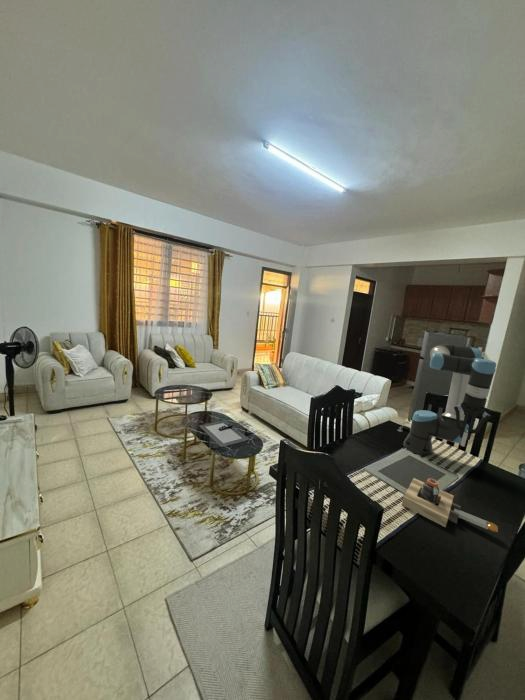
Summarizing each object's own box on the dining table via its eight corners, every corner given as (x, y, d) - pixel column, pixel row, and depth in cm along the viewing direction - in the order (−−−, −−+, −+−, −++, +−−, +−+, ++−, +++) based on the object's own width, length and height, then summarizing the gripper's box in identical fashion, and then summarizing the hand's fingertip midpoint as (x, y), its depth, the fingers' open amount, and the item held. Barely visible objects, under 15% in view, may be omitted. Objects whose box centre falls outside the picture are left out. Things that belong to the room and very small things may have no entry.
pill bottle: (437, 510, 117) (443, 487, 115) (422, 507, 118) (428, 484, 116) (431, 500, 123) (437, 478, 120) (417, 497, 124) (422, 475, 121)
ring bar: (454, 507, 115) (498, 525, 106) (454, 510, 115) (497, 528, 107) (453, 512, 112) (498, 530, 104) (453, 515, 113) (497, 533, 104)
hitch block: (411, 485, 132) (413, 477, 131) (459, 507, 120) (462, 499, 119) (401, 504, 118) (403, 496, 117) (454, 532, 106) (457, 523, 106)
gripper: (456, 392, 119) (444, 442, 125) (495, 402, 111) (480, 454, 117) (458, 388, 125) (446, 436, 130) (495, 397, 117) (481, 447, 122)
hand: (462, 444), depth 123 cm, fingers closed
